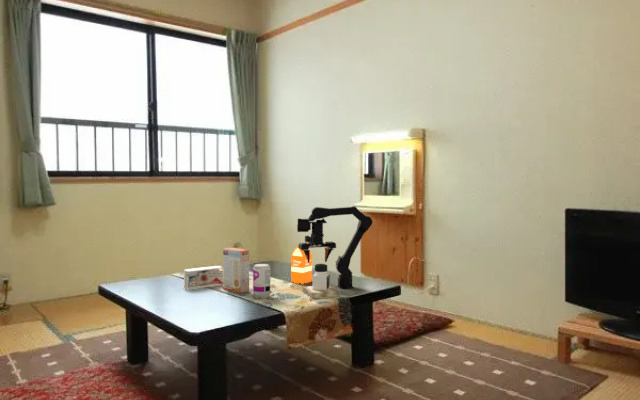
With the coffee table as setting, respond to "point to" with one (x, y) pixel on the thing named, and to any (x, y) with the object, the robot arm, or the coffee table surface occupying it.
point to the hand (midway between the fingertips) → (317, 262)
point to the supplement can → (261, 280)
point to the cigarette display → (203, 277)
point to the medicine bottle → (321, 278)
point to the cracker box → (236, 270)
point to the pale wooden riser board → (320, 292)
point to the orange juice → (300, 267)
